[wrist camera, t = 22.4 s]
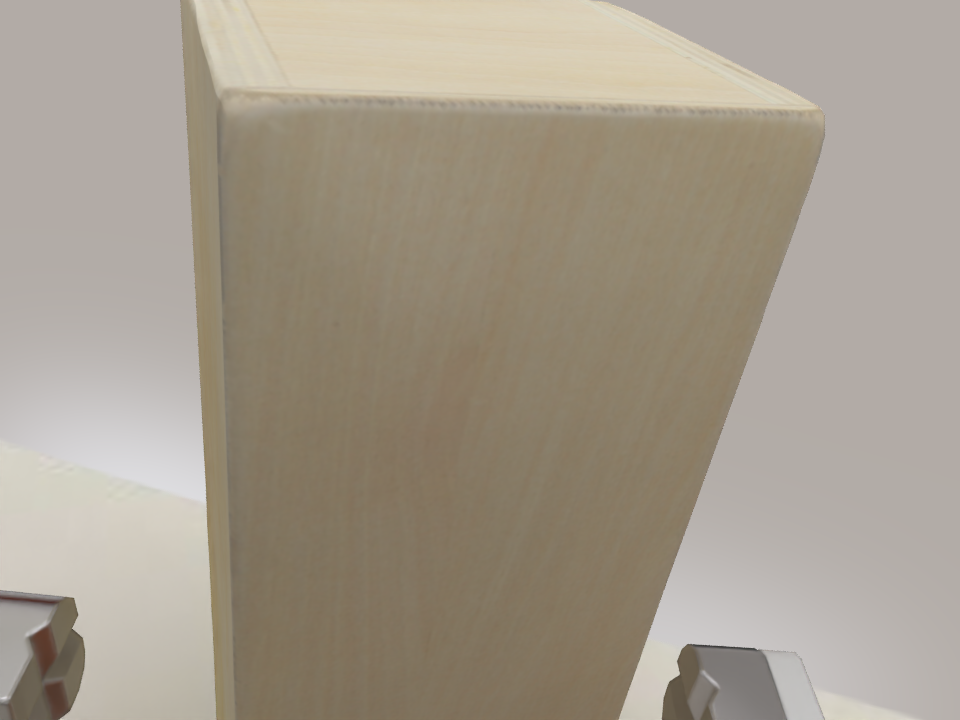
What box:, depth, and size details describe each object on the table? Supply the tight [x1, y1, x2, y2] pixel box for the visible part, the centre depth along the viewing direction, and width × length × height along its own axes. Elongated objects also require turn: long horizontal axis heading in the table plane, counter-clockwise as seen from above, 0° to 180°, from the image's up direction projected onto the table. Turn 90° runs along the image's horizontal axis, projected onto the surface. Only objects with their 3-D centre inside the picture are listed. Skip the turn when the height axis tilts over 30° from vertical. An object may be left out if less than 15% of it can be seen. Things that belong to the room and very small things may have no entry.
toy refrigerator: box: [180, 0, 825, 720], centre depth 18 cm, size 8×7×21 cm
